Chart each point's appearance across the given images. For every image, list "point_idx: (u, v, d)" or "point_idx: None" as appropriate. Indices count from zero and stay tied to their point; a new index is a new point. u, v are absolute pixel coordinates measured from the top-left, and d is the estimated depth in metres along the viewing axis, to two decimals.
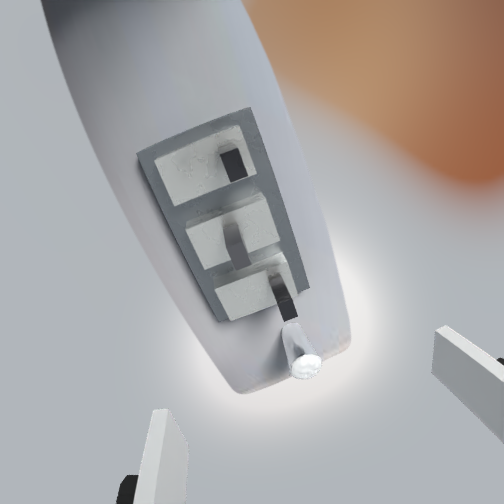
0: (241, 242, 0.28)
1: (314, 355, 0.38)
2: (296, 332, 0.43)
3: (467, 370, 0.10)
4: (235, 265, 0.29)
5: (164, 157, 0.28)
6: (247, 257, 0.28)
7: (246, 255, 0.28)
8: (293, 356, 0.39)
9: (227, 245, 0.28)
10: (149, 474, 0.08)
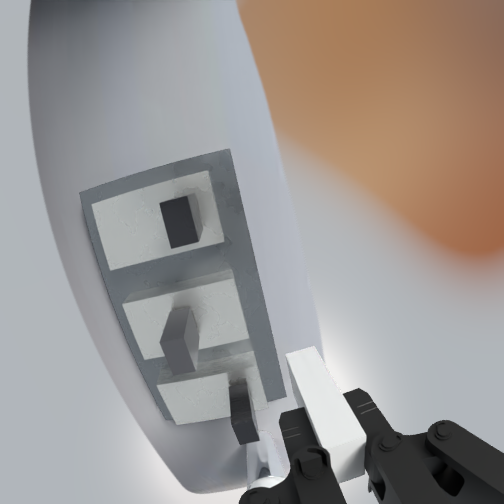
0: (182, 339, 0.18)
1: (281, 478, 0.24)
2: (263, 444, 0.29)
3: None
4: (172, 368, 0.18)
5: (104, 201, 0.20)
6: (190, 360, 0.18)
7: (188, 357, 0.18)
8: (254, 475, 0.25)
9: (162, 339, 0.18)
10: (315, 399, 0.11)
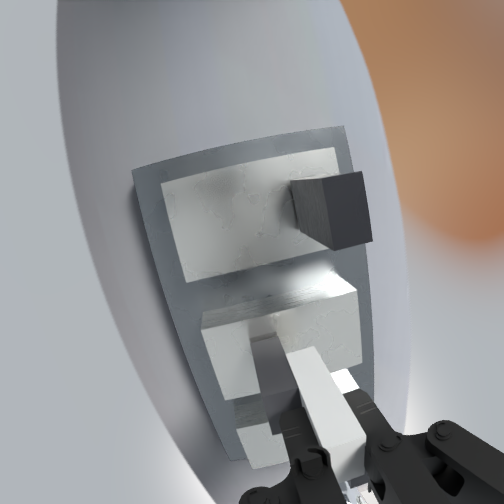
0: (296, 389, 0.12)
1: None
2: None
3: None
4: (273, 427, 0.12)
5: (182, 180, 0.14)
6: None
7: None
8: None
9: (264, 391, 0.12)
10: (315, 399, 0.11)
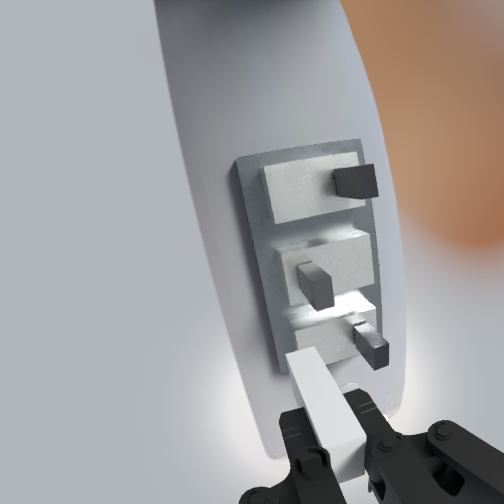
0: (330, 277, 0.23)
1: (383, 414, 0.29)
2: None
3: None
4: (317, 304, 0.24)
5: (276, 165, 0.26)
6: (332, 296, 0.24)
7: (331, 294, 0.24)
8: None
9: (313, 279, 0.23)
10: (315, 399, 0.11)
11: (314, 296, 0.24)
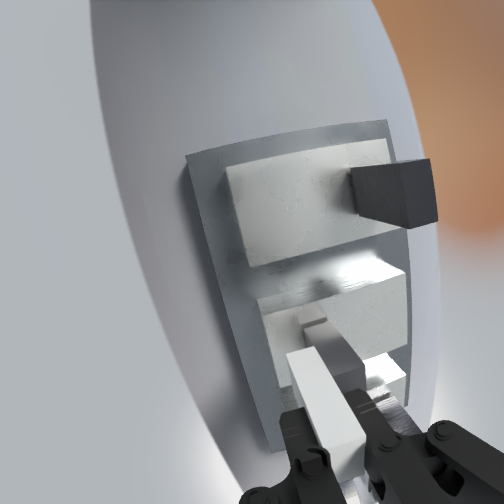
0: (363, 367, 0.12)
1: None
2: None
3: None
4: None
5: (248, 164, 0.15)
6: None
7: (363, 390, 0.12)
8: (374, 496, 0.19)
9: (332, 371, 0.12)
10: (315, 399, 0.11)
11: None
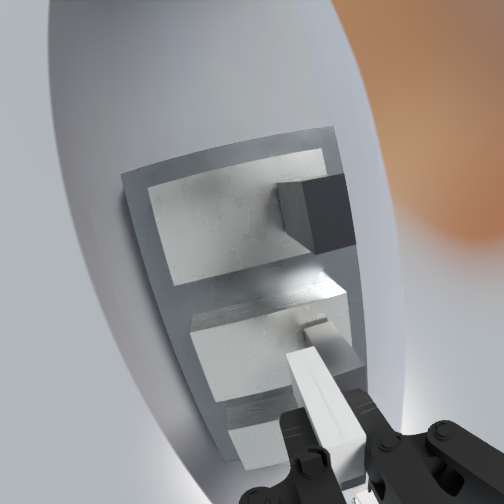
0: (363, 367, 0.12)
1: None
2: None
3: None
4: None
5: (168, 184, 0.14)
6: None
7: (363, 390, 0.12)
8: None
9: (333, 371, 0.12)
10: (315, 399, 0.11)
11: None
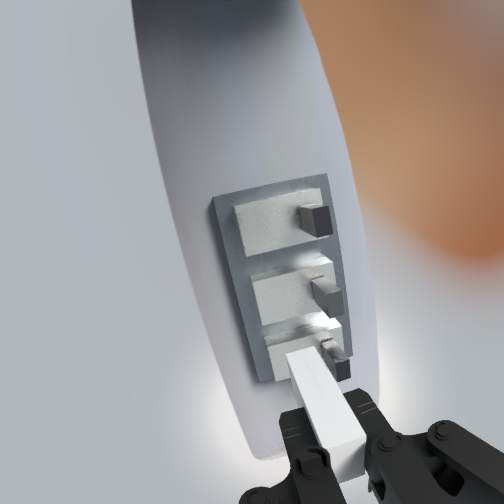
0: (340, 291, 0.28)
1: None
2: None
3: None
4: (330, 313, 0.28)
5: (245, 205, 0.30)
6: (342, 306, 0.28)
7: (342, 304, 0.28)
8: None
9: (326, 292, 0.28)
10: (315, 399, 0.11)
11: (327, 306, 0.28)
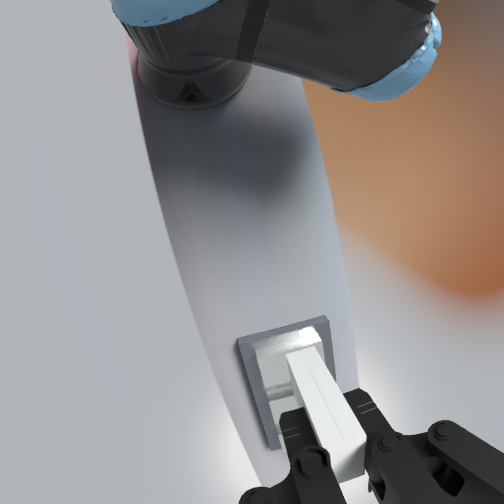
0: None
1: None
2: None
3: None
4: None
5: (265, 357, 0.39)
6: None
7: None
8: None
9: None
10: (315, 399, 0.11)
11: None
